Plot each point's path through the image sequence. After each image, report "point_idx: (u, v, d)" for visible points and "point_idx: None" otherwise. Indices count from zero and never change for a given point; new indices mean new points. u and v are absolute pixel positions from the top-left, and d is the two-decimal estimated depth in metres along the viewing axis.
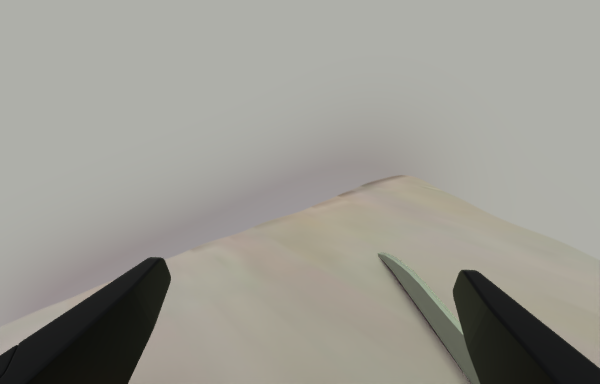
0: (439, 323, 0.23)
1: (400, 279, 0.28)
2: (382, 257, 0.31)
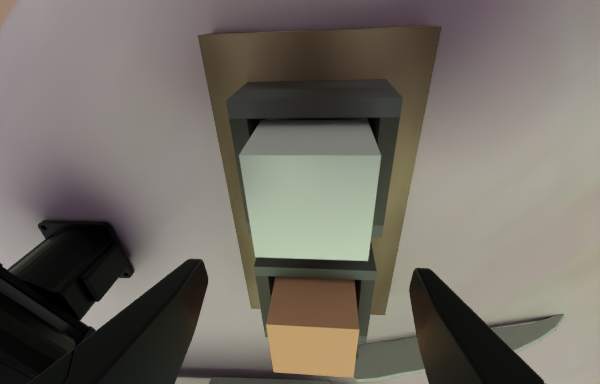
0: None
1: (513, 329, 0.27)
2: (553, 320, 0.26)
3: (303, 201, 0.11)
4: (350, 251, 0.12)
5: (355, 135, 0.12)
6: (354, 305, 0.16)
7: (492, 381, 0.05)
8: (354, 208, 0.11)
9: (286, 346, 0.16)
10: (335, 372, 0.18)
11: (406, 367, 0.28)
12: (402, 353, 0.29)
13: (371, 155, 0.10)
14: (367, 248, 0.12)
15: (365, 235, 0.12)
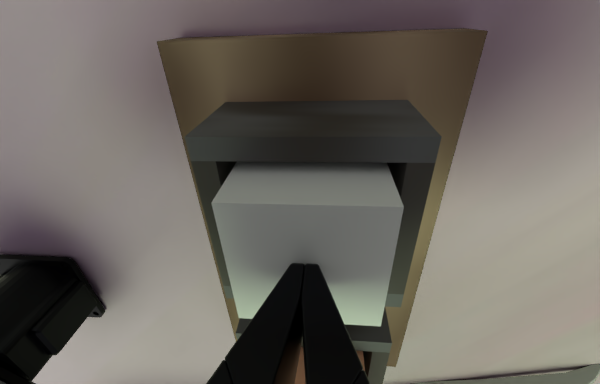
0: None
1: (543, 379, 0.23)
2: (591, 370, 0.22)
3: (298, 258, 0.08)
4: (358, 315, 0.10)
5: (366, 169, 0.09)
6: None
7: (313, 368, 0.05)
8: (365, 268, 0.08)
9: None
10: None
11: None
12: None
13: (391, 206, 0.07)
14: (380, 313, 0.09)
15: (378, 298, 0.09)
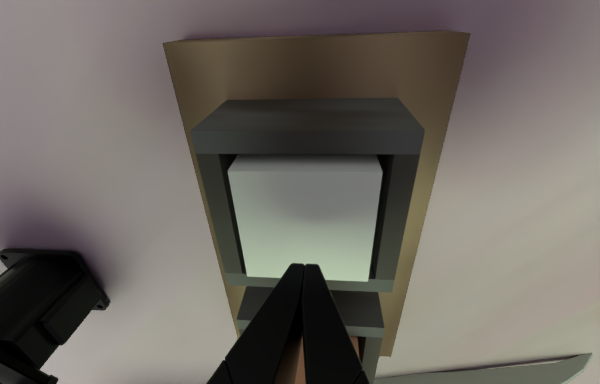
0: None
1: (534, 369, 0.24)
2: (580, 360, 0.23)
3: (298, 219, 0.10)
4: (349, 271, 0.11)
5: None
6: None
7: (313, 368, 0.05)
8: (353, 227, 0.10)
9: None
10: None
11: None
12: None
13: (372, 172, 0.09)
14: (367, 268, 0.11)
15: (365, 255, 0.11)
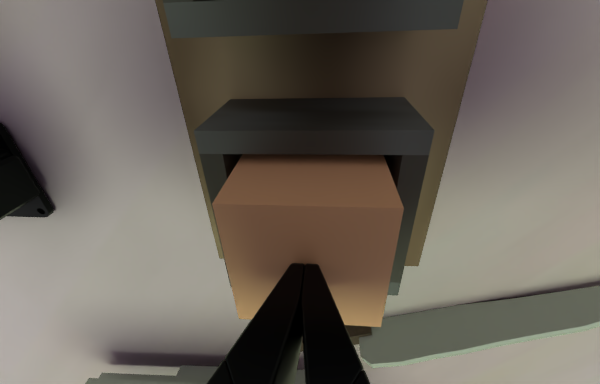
0: (513, 315, 0.19)
1: None
2: None
3: None
4: None
5: None
6: (388, 179, 0.08)
7: (313, 368, 0.05)
8: None
9: (256, 259, 0.09)
10: (348, 316, 0.10)
11: (444, 346, 0.19)
12: (436, 328, 0.20)
13: None
14: None
15: None
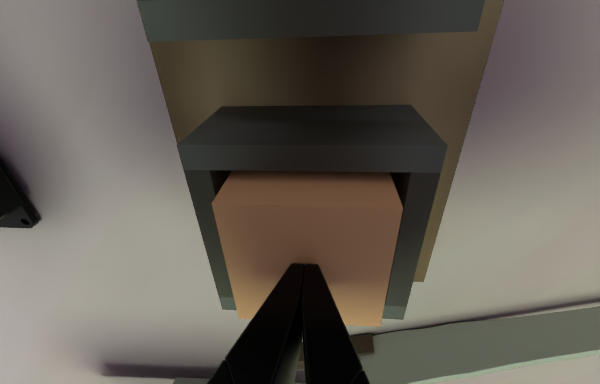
0: (525, 335, 0.18)
1: None
2: None
3: None
4: None
5: None
6: (387, 179, 0.08)
7: (313, 368, 0.05)
8: None
9: (255, 258, 0.09)
10: (347, 316, 0.10)
11: (451, 368, 0.18)
12: (442, 347, 0.19)
13: None
14: None
15: None
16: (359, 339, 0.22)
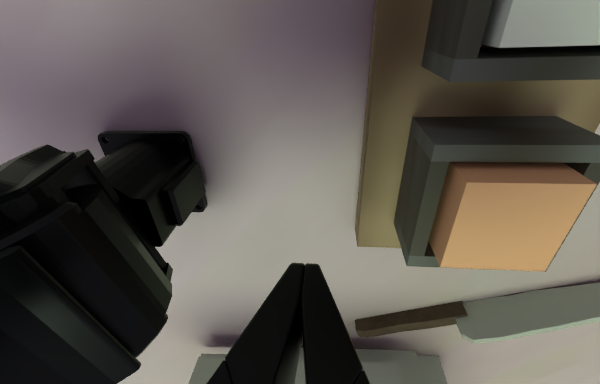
0: None
1: None
2: None
3: None
4: None
5: None
6: (567, 167, 0.13)
7: (313, 368, 0.05)
8: None
9: (477, 220, 0.13)
10: (524, 263, 0.14)
11: (541, 323, 0.23)
12: (529, 308, 0.24)
13: None
14: None
15: None
16: (451, 305, 0.26)
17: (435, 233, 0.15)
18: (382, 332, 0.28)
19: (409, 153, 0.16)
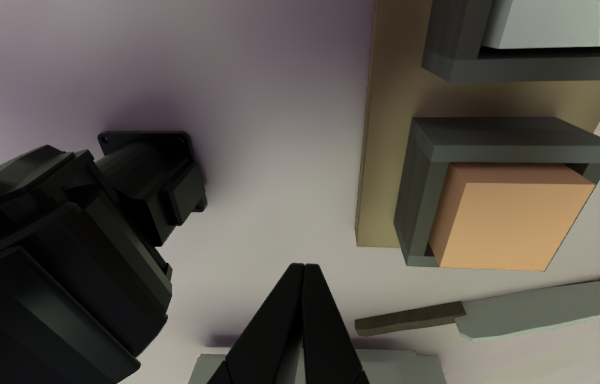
0: (598, 295, 0.22)
1: None
2: None
3: None
4: None
5: None
6: (566, 168, 0.13)
7: (313, 368, 0.05)
8: None
9: (477, 221, 0.13)
10: (523, 263, 0.14)
11: (539, 322, 0.23)
12: (527, 307, 0.24)
13: None
14: None
15: None
16: (450, 304, 0.26)
17: (435, 233, 0.15)
18: (381, 331, 0.28)
19: (408, 154, 0.16)
